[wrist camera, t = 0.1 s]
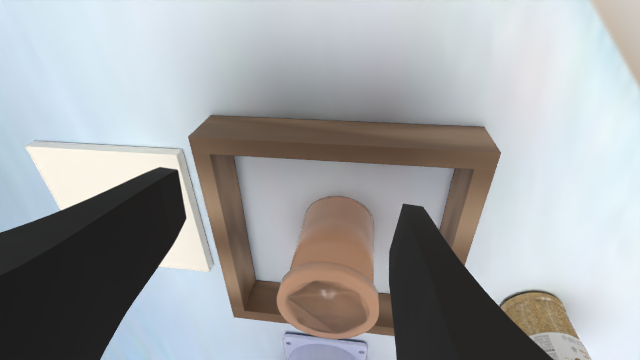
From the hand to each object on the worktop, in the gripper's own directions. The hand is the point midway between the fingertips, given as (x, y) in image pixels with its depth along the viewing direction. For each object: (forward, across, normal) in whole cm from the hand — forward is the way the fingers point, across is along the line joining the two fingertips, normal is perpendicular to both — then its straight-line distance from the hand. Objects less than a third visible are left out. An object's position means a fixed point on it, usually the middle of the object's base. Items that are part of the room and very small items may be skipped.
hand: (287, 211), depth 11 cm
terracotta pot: (+10, -2, +9) cm, 14 cm away
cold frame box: (+10, -2, +9) cm, 14 cm away
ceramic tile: (+10, +14, +11) cm, 20 cm away
